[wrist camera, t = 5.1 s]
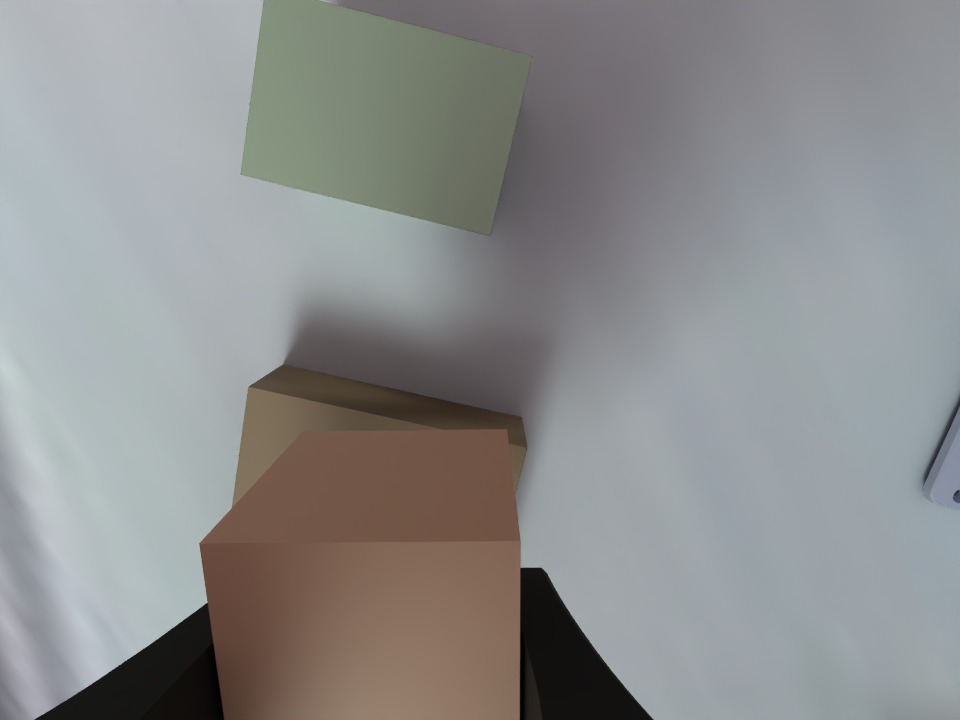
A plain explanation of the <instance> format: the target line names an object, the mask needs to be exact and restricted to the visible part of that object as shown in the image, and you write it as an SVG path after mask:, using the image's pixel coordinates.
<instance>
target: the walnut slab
mask: <svg viewBox="0 0 960 720" xmlns="http://www.w3.org/2000/svg"><path fill="white" fill-rule="evenodd" d="M484 429H507V434H508V442H509V450H510V458H511V467H512V475H513V483H514V492H515V493H516V489H517V485H518V482H519V478H520V474H521V470H522V466H523V463H524V459H525V455H526V451H527V443H526V438H525V433H524V428H523V423H522V418H521V417H517V416H512V415H508V414H503V413H499V412H494V411H490V410H485V409H481V408H476V407H472V406H467V405H463V404H458V403H454V402H449V401H445V400H440V399H436V398H431V397H427V396H422V395H418V394H413V393H409V392H404V391H400V390H395V389H391V388H386V387H382V386H377V385H373V384H368V383H363V382H359V381H354V380H350V379H345V378H341V377H336V376H332V375H327V374H323V373H318V372H314V371H309V370H305V369H300V368H296V367H291V366H287V365H282V366H280V367H278V368H277V369H275V370H274V371H272V372H271V373H269V374H268V375H266V376H264V377H263V378H261V379H260V380H258V381H257V382H255V383H254V384H252V385H251V386H249V387H248V394H247V401H246V409H245V416H244V423H243V431H242V438H241V445H240V453H239V460H238V467H237V475H236V482H235V489H234V497H233V504H232V508H233V507H234V506H235V504H236V503H237V502H238V501H239V500H240V499H241V498H242V497H243V496H244V495H245V494H246V493H247V491H248V490H249V489H250V488H251V487H252V486H253V485H254V484H255V483H256V482H257V481H258V480H259V478H260V477H261V476H262V475H263V474H264V473H265V472H266V471H267V470H268V469H269V468H270V467H271V465H272V464H273V463H274V462H275V461H276V460H277V459H278V458H279V457H280V456H281V455H282V454H283V452H284V451H285V450H286V449H287V448H288V447H289V446H290V445H291V444H292V443H293V442H294V441H295V439H296V438H297V437H298V436H299V435H300V434H301V433H302V432H303V431H379V430H484Z"/></svg>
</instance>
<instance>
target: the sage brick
mask: <svg viewBox="0 0 960 720" xmlns="http://www.w3.org/2000/svg"><path fill="white" fill-rule="evenodd" d="M531 60H532V56H531V55H527V54H523V53H519V52H515V51H512V50H508V49H504V48H500V47H496V46H492V45H488V44H484V43H481V42H477V41H473V40H469V39H465V38H461V37H457V36H454V35H450V34H446V33H442V32H438V31H434V30H430V29H427V28H423V27H419V26H415V25H411V24H407V23H403V22H399V21H396V20H392V19H388V18H384V17H380V16H376V15H372V14H369V13H365V12H361V11H357V10H353V9H349V8H345V7H342V6H338V5H334V4H330V3H326V2H322V1H318V0H264V2H263V10H262V17H261V25H260V32H259V40H258V47H257V55H256V63H255V70H254V78H253V85H252V93H251V100H250V108H249V115H248V123H247V130H246V138H245V145H244V153H243V161H242V168H241V175H244V176H248V177H252V178H256V179H260V180H264V181H268V182H272V183H276V184H280V185H284V186H288V187H292V188H296V189H300V190H304V191H308V192H312V193H316V194H320V195H324V196H328V197H333V198H337V199H341V200H345V201H349V202H353V203H357V204H361V205H365V206H369V207H374V208H378V209H382V210H386V211H390V212H394V213H398V214H402V215H406V216H411V217H415V218H419V219H423V220H427V221H431V222H435V223H439V224H443V225H447V226H452V227H456V228H460V229H464V230H468V231H472V232H476V233H480V234H484V235H489V236H490V234H491V230H492V225H493V221H494V217H495V213H496V208H497V204H498V200H499V196H500V191H501V187H502V183H503V179H504V174H505V170H506V166H507V162H508V157H509V153H510V149H511V145H512V140H513V136H514V132H515V128H516V123H517V119H518V115H519V111H520V106H521V102H522V98H523V94H524V89H525V85H526V81H527V77H528V72H529V68H530V64H531Z"/></svg>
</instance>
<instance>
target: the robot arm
mask: <svg viewBox="0 0 960 720" xmlns="http://www.w3.org/2000/svg"><path fill="white" fill-rule="evenodd" d="M957 490H959V493H958V494H957V495H956V496H954V497H953V495H954V493H955V492H956V491H957ZM923 493H924V496H925V497H926V498H927V499H928V500H930V501H931V502H933V503H935V504H937V505H939V506H943V507H947V508H952V509H956V510H960V407H959V410H958V412H957V414H956V416H955V418H954V421H953V423H952V425H951V427H950V429H949V432H948V434H947V436H946V438H945V440H944V442H943V445H942V447H941V449H940V451H939V453H938V456H937V458H936V460H935V462H934V464H933V467H932V469H931V471H930V473H929V475H928V477H927V480H926V482H925V484H924V488H923ZM35 720H224V714H223V707H222V700H221V693H220V686H219V679H218V672H217V664H216V657H215V650H214V643H213V636H212V629H211V622H210V615H209V608H208V603H207V604H205V605H204V606H202V607H201V608H200V609H198V610H197V611H196V612H194V613H193V614H192V615H190V616H189V617H187V618H186V619H185V620H183V621H182V622H181V623H179V624H178V625H177V626H175V627H174V628H172V629H171V630H170V631H168V632H167V633H166V634H164V635H163V636H161V637H160V638H159V639H157V640H156V641H155V642H153V643H152V644H150V645H149V646H147V647H146V648H144V649H143V650H141V651H140V652H138V653H137V654H136V655H134V656H133V657H131V658H130V659H128V660H127V661H125V662H124V663H122V664H121V665H119V666H118V667H116V668H115V669H113V670H112V671H111V672H109V673H108V674H106V675H105V676H103V677H102V678H100V679H99V680H97V681H96V682H94V683H93V684H91V685H90V686H88V687H87V688H85V689H84V690H82V691H80V692H79V693H77V694H76V695H74V696H73V697H71V698H69V699H68V700H66V701H65V702H63V703H61V704H60V705H58V706H56V707H55V708H53V709H52V710H50V711H48V712H47V713H45V714H43V715H41V716H40V717H38V718H36V719H35ZM520 720H653V719H652V718H651V716H650V715H649V714H648V713H647V712H646V711H645V710H644V709H643V708H642V706H641V705H640V704H639V703H638V702H637V701H636V700H635V698H634V697H633V696H632V695H631V694H630V693H629V691H628V690H627V689H626V688H625V687H624V685H623V684H622V683H621V682H620V680H619V679H618V678H617V677H616V676H615V674H614V673H613V672H612V671H611V669H610V668H609V667H608V666H607V664H606V663H605V662H604V660H603V659H602V658H601V657H600V655H599V654H598V653H597V651H596V650H595V648H594V647H593V646H592V644H591V643H590V641H589V640H588V639H587V637H586V636H585V634H584V633H583V632H582V630H581V629H580V627H579V626H578V625H577V623H576V622H575V620H574V619H573V617H572V616H571V614H570V612H569V611H568V609H567V608H566V606H565V605H564V603H563V601H562V600H561V598H560V596H559V595H558V593H557V591H556V590H555V588H554V586H553V584H552V582H551V580H550V578H549V576H548V574H547V573H546V572H545V571H544V570H543V569H542V568H520Z"/></svg>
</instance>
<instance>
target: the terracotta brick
mask: <svg viewBox="0 0 960 720" xmlns="http://www.w3.org/2000/svg"><path fill="white" fill-rule="evenodd" d="M199 544H200V551H201V558H202V565H203V572H204V579H205V587H206V594H207V601H208V608H209V615H210V622H211V629H212V636H213V643H214V650H215V657H216V664H217V672H218V679H219V686H220V693H221V700H222V707H223V714H224V720H520V533H519V525H518V517H517V508H516V500H515V492H514V483H513V475H512V467H511V458H510V450H509V442H508V434H507V429H484V430H379V431H303V432H302V433H301V434H300V435H299V436H298V437H297V438H296V439H295V441H294V442H293V443H292V444H291V445H290V446H289V447H288V448H287V449H286V450H285V451H284V452H283V454H282V455H281V456H280V457H279V458H278V459H277V460H276V461H275V462H274V463H273V464H272V465H271V467H270V468H269V469H268V470H267V471H266V472H265V473H264V474H263V475H262V476H261V477H260V478H259V480H258V481H257V482H256V483H255V484H254V485H253V486H252V487H251V488H250V489H249V490H248V491H247V493H246V494H245V495H244V496H243V497H242V498H241V499H240V500H239V501H238V502H237V503H236V504H235V506H234V507H233V508H232V509H231V510H230V511H229V512H228V513H227V514H226V515H225V516H224V517H223V519H222V520H221V521H220V522H219V523H218V524H217V525H216V526H215V527H214V528H213V529H212V530H211V532H210V533H209V534H208V535H207V536H206V537H205V538H204V539H203V540H202V541H201V542H200V543H199Z"/></svg>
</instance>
